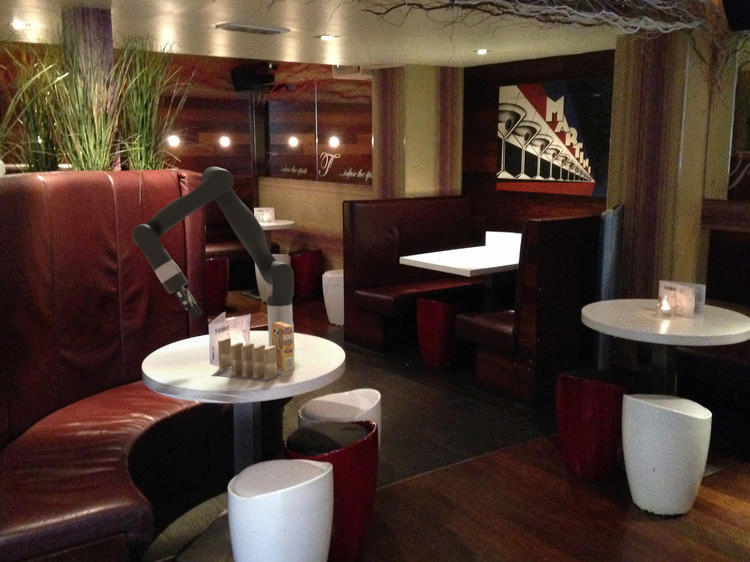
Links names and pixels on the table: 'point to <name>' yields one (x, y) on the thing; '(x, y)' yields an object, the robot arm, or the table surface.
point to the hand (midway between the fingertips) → (198, 316)
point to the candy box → (283, 344)
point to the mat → (228, 374)
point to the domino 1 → (224, 352)
